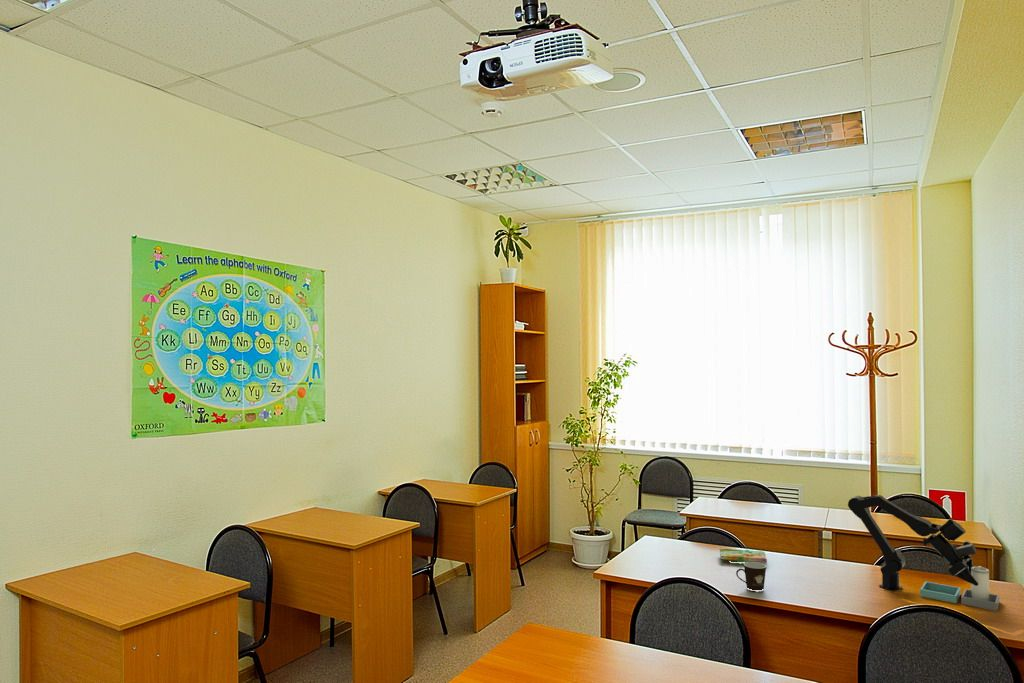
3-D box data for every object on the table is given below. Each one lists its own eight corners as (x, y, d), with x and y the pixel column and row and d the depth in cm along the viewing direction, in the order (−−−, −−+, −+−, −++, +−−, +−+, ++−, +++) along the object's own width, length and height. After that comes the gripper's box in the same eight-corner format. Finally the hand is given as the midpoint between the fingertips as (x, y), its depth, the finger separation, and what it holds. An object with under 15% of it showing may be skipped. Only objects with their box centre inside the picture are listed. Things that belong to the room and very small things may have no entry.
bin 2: (996, 612, 252) (996, 603, 252) (961, 605, 259) (961, 596, 259) (999, 604, 261) (999, 595, 261) (965, 597, 268) (965, 588, 268)
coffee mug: (766, 587, 281) (765, 563, 281) (766, 594, 272) (766, 569, 273) (736, 584, 284) (736, 560, 285) (736, 591, 276) (735, 566, 276)
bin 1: (956, 605, 260) (956, 596, 260) (920, 598, 268) (920, 589, 268) (960, 596, 269) (960, 587, 269) (925, 590, 277) (925, 581, 277)
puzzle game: (766, 557, 307) (720, 553, 313) (766, 567, 307) (720, 564, 313) (764, 550, 319) (719, 546, 324) (764, 560, 318) (719, 556, 324)
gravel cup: (984, 607, 256) (984, 569, 256) (968, 602, 261) (967, 565, 261) (992, 604, 259) (992, 567, 259) (976, 599, 264) (975, 563, 264)
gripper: (958, 540, 257) (994, 576, 250) (964, 530, 271) (999, 563, 264) (934, 558, 262) (969, 593, 255) (941, 547, 276) (975, 580, 269)
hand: (979, 581), depth 260 cm, fingers open, 9 cm apart
